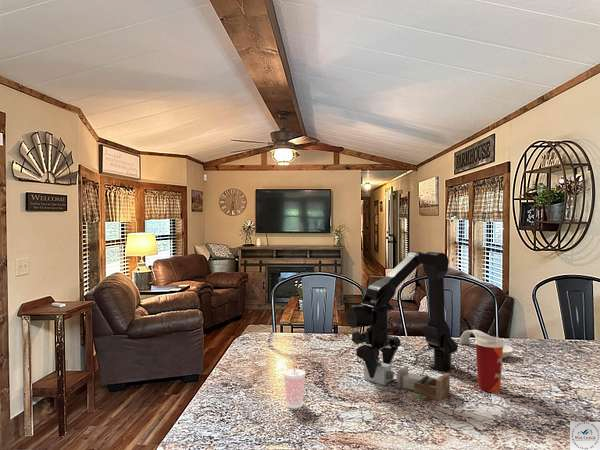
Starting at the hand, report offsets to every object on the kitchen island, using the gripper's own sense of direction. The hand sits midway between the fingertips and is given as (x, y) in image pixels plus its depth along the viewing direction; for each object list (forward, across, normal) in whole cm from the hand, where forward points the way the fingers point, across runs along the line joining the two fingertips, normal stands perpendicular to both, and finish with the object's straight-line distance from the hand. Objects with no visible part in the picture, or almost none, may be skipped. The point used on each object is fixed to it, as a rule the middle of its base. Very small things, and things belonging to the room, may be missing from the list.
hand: (378, 373), depth 142 cm
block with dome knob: (+2, 0, 0) cm, 2 cm away
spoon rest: (+3, -52, +17) cm, 55 cm away
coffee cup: (+2, -14, +30) cm, 33 cm away
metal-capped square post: (+2, +1, +12) cm, 13 cm away
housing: (+2, +1, +17) cm, 17 cm away
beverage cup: (+2, +31, -10) cm, 33 cm away
